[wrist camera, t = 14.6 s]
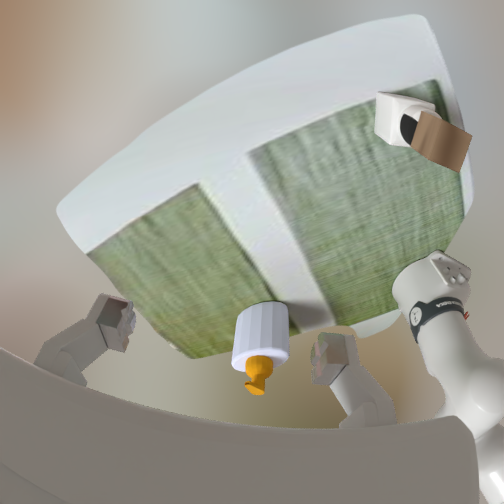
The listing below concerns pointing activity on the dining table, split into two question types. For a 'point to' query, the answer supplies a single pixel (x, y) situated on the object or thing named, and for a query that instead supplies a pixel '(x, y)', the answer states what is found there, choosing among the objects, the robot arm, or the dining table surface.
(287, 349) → the soap bottle
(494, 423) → the robot arm
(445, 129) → the walnut cube
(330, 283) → the dining table surface
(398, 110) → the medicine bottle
